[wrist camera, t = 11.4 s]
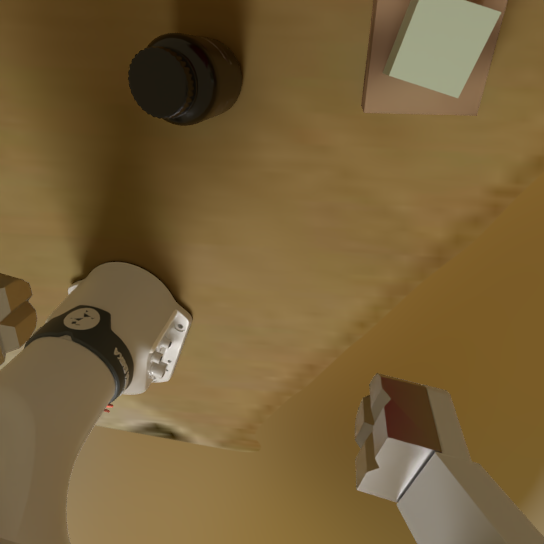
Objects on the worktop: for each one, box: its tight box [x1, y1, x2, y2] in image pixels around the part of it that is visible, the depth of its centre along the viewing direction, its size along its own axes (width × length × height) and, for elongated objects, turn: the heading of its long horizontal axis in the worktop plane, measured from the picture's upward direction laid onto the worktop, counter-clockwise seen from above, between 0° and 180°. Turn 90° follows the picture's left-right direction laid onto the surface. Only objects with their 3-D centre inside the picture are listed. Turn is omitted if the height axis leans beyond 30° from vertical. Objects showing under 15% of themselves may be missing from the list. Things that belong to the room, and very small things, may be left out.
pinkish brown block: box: [361, 0, 508, 116], centre depth 31 cm, size 9×9×6 cm
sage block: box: [383, 0, 501, 98], centre depth 26 cm, size 5×5×5 cm
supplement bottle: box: [128, 33, 242, 126], centre depth 32 cm, size 7×7×12 cm
